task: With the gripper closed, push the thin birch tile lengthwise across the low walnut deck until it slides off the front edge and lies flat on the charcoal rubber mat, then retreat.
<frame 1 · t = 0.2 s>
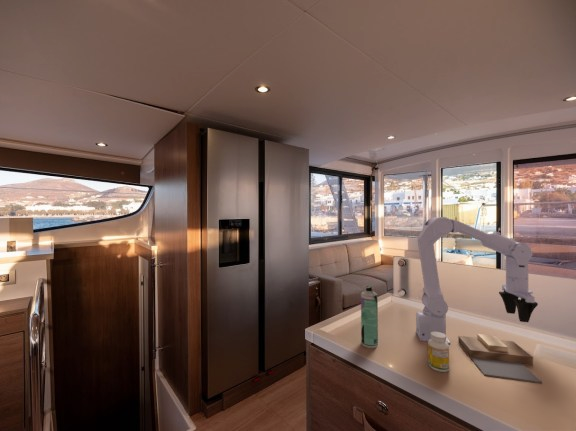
hand: (517, 317, 87), 10 cm above the worktop, fingers open, 7 cm apart
birch tile: (491, 344, 83), point 2 cm above the worktop, touching walnut deck
walnut deck: (492, 353, 82), on the worktop
supplement bottle: (438, 367, 75), on the worktop
rubber mat: (503, 369, 74), on the worktop
spray can: (369, 344, 89), on the worktop
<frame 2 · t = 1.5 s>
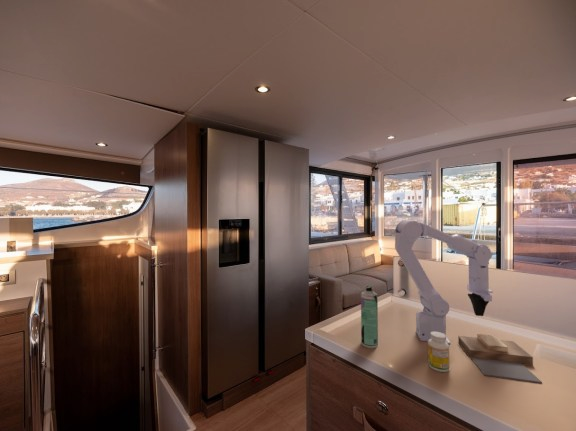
hand: (479, 315, 92), 9 cm above the worktop, fingers closed
nothing on the worktop moved.
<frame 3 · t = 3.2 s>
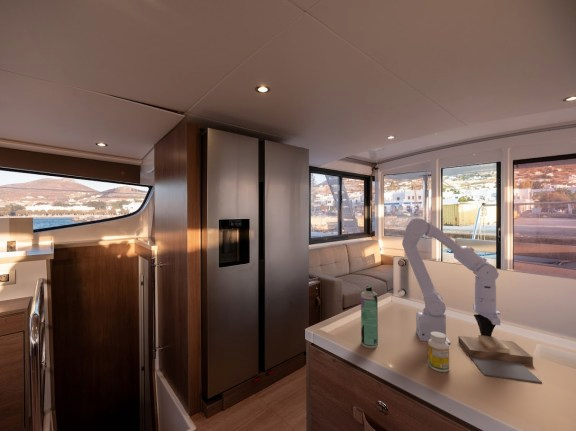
hand: (485, 337, 87), 3 cm above the worktop, fingers closed
birch tile: (493, 346, 82), point 3 cm above the worktop, touching gripper
everything else where it was.
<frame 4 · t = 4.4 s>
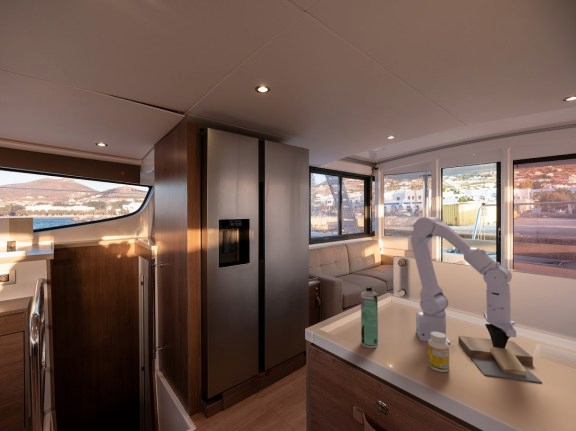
hand: (498, 350, 79), 3 cm above the worktop, fingers closed
birch tile: (506, 362, 74), point 2 cm above the worktop, tilted 16°, touching gripper
everything else where it was.
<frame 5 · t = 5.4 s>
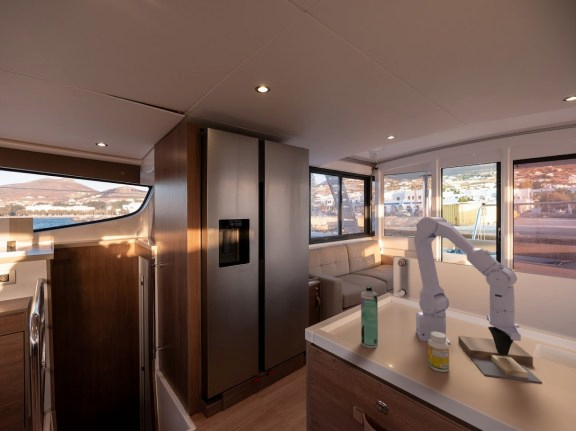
hand: (502, 353, 77), 3 cm above the worktop, fingers closed
birch tile: (508, 368, 74), resting on rubber mat
everything else where it was.
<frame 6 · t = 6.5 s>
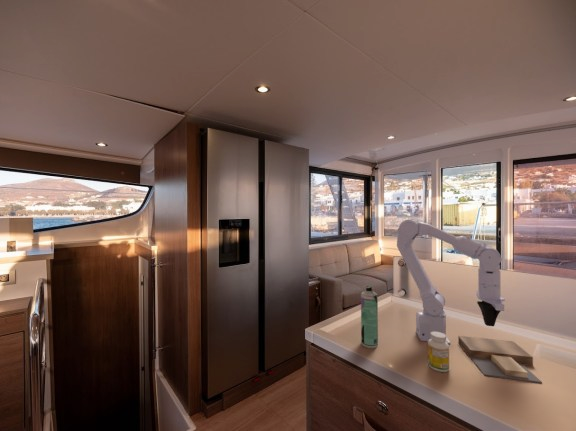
hand: (489, 325, 84), 8 cm above the worktop, fingers closed
nothing on the worktop moved.
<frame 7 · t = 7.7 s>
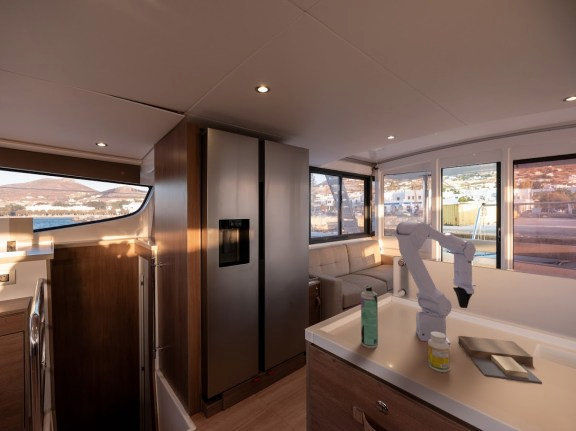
hand: (463, 307, 98), 9 cm above the worktop, fingers closed
nothing on the worktop moved.
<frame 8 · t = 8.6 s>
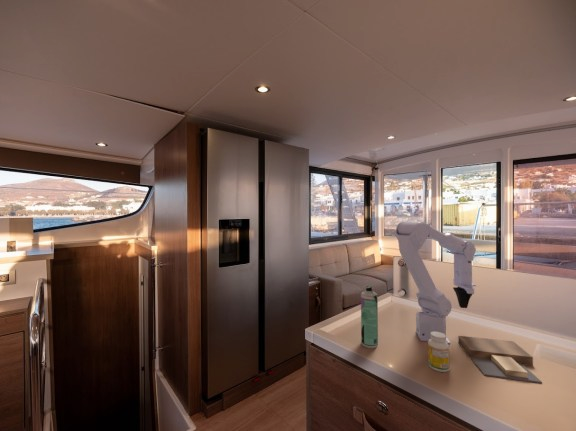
hand: (463, 307, 98), 9 cm above the worktop, fingers closed
nothing on the worktop moved.
at the end: birch tile inside the target area (1.8 cm from its centre), resting on rubber mat; birch tile tilted 0°; the gripper is holding nothing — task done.
